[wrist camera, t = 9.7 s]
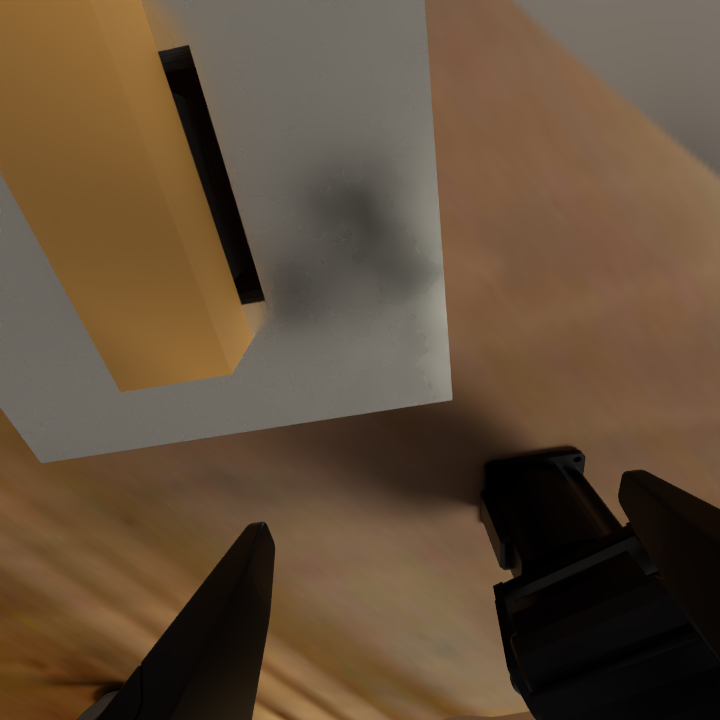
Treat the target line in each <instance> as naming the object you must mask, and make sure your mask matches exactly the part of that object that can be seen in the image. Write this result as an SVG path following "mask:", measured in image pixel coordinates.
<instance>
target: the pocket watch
mask: <svg viewBox="0 0 720 720" xmlns="http://www.w3.org/2000/svg"><path fill="white" fill-rule="evenodd" d="M117 693H118V691H113V692H110V693H108V694H106V695H104V696H103V697H102V698H101V699H100V700H99V701H98V702H97V703H95V704H93V705H92V706H90V707H89V708H88V709H87V710H86V711H84V712H83V713H82V714H81V716H80V717H79V718H78V719H77V720H96V718H97V717H98V716H99V715H100V714H101V712H102V711H103V710H104V709H105V707H106V706H107V705H108V704H109V702H110V701H111V700H112V699H113V697H114V696H115V695H116V694H117Z"/></svg>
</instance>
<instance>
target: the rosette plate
mask: <svg viewBox="0 0 720 720" xmlns="http://www.w3.org/2000/svg"><path fill="white" fill-rule="evenodd" d="M141 3H142V6H143V9H144V12H145V15H146V18H147V21H148V24H149V27H150V30H151V33H152V36H153V39H154V42H155V45H156V48H157V51H158V54H159V57H160V60H161V63H162V66H163V69H164V72H165V73H166V72H171V71H175V70H180V69H184V68H189V67H194V66H195V67H196V70H197V74H198V77H199V80H200V84H201V87H202V90H203V94H204V97H205V100H206V104H207V107H208V110H209V114H210V117H211V120H212V124H213V127H214V130H215V134H216V137H217V140H218V144H219V147H220V150H221V154H222V157H223V160H224V164H225V167H226V170H227V174H228V177H229V180H230V184H231V187H232V190H233V194H234V197H235V200H236V204H237V207H238V210H239V214H240V217H241V220H242V224H243V227H244V231H245V234H246V237H247V241H248V244H249V247H250V251H251V254H252V257H253V261H254V264H255V267H256V271H257V274H258V277H259V281H260V284H261V287H262V289H260V290H255V291H249V292H243V293H238V296H239V299H240V302H241V305H242V308H243V311H244V314H245V317H246V320H247V323H248V326H249V329H250V332H251V335H252V338H253V340H252V341H251V343H250V345H249V346H248V348H247V350H246V351H245V353H244V355H243V357H242V358H241V360H240V362H239V363H238V365H237V367H236V368H235V370H234V372H233V373H232V374H231V375H225V376H219V377H213V378H206V379H200V380H194V381H188V382H182V383H176V384H170V385H164V386H158V387H152V388H146V389H139V390H133V391H127V392H120V390H119V389H118V387H117V385H116V383H115V381H114V379H113V378H112V376H111V374H110V372H109V370H108V368H107V367H106V365H105V363H104V361H103V359H102V358H101V356H100V354H99V352H98V350H97V348H96V347H95V345H94V343H93V341H92V339H91V337H90V336H89V334H88V332H87V330H86V328H85V326H84V325H83V323H82V321H81V319H80V317H79V316H78V314H77V312H76V310H75V308H74V306H73V305H72V303H71V301H70V299H69V297H68V295H67V294H66V292H65V290H64V288H63V286H62V284H61V283H60V281H59V279H58V277H57V275H56V274H55V272H54V270H53V268H52V266H51V264H50V263H49V261H48V259H47V257H46V255H45V253H44V252H43V250H42V248H41V246H40V244H39V242H38V241H37V239H36V237H35V235H34V233H33V232H32V230H31V228H30V226H29V224H28V222H27V221H26V219H25V217H24V215H23V213H22V211H21V210H20V208H19V206H18V204H17V202H16V200H15V199H14V197H13V195H12V193H11V191H10V190H9V188H8V186H7V184H6V182H5V180H4V179H3V177H2V175H1V173H0V408H1V409H2V411H3V412H4V413H5V415H6V416H7V417H8V419H9V420H10V422H11V423H12V424H13V426H14V427H15V428H16V430H17V431H18V432H19V434H20V435H21V436H22V438H23V439H24V441H25V442H26V443H27V445H28V446H29V447H30V449H31V450H32V451H33V453H34V454H35V455H36V457H37V458H38V460H39V461H40V462H41V463H47V462H54V461H60V460H67V459H73V458H80V457H86V456H93V455H99V454H106V453H112V452H119V451H125V450H132V449H138V448H145V447H151V446H158V445H164V444H171V443H177V442H184V441H190V440H197V439H203V438H209V437H216V436H222V435H229V434H235V433H242V432H248V431H255V430H261V429H268V428H274V427H281V426H287V425H294V424H300V423H307V422H313V421H320V420H326V419H333V418H339V417H346V416H352V415H359V414H365V413H372V412H378V411H385V410H391V409H397V408H404V407H410V406H417V405H423V404H430V403H436V402H443V401H449V400H453V399H452V385H451V371H450V357H449V342H448V328H447V314H446V300H445V286H444V271H443V257H442V243H441V229H440V215H439V200H438V186H437V172H436V158H435V144H434V129H433V115H432V101H431V87H430V73H429V58H428V44H427V30H426V16H425V2H424V0H141Z"/></svg>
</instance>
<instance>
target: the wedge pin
mask: <svg viewBox="0 0 720 720" xmlns="http://www.w3.org/2000/svg"><path fill="white" fill-rule="evenodd" d="M0 173H1V175H2V177H3V179H4V180H5V182H6V184H7V186H8V188H9V190H10V191H11V193H12V195H13V197H14V199H15V200H16V202H17V204H18V206H19V208H20V210H21V211H22V213H23V215H24V217H25V219H26V221H27V222H28V224H29V226H30V228H31V230H32V232H33V233H34V235H35V237H36V239H37V241H38V242H39V244H40V246H41V248H42V250H43V252H44V253H45V255H46V257H47V259H48V261H49V263H50V264H51V266H52V268H53V270H54V272H55V274H56V275H57V277H58V279H59V281H60V283H61V284H62V286H63V288H64V290H65V292H66V294H67V295H68V297H69V299H70V301H71V303H72V305H73V306H74V308H75V310H76V312H77V314H78V316H79V317H80V319H81V321H82V323H83V325H84V326H85V328H86V330H87V332H88V334H89V336H90V337H91V339H92V341H93V343H94V345H95V347H96V348H97V350H98V352H99V354H100V356H101V358H102V359H103V361H104V363H105V365H106V367H107V368H108V370H109V372H110V374H111V376H112V378H113V379H114V381H115V383H116V385H117V387H118V389H119V390H120V392H127V391H133V390H139V389H146V388H152V387H158V386H164V385H170V384H176V383H182V382H188V381H194V380H200V379H206V378H213V377H219V376H225V375H231V374H232V373H233V372H234V370H235V368H236V367H237V365H238V363H239V362H240V360H241V358H242V357H243V355H244V353H245V351H246V350H247V348H248V346H249V345H250V343H251V341H252V340H253V338H252V335H251V332H250V329H249V326H248V323H247V320H246V317H245V314H244V311H243V308H242V305H241V302H240V299H239V296H238V293H237V290H236V286H235V283H234V279H235V278H236V277H237V276H238V275H239V274H240V273H242V272H243V271H244V270H245V269H246V268H247V267H248V266H249V265H250V264H251V263H253V262H254V261H253V257H252V254H251V251H250V247H249V244H248V241H247V237H246V234H245V231H244V227H243V224H242V220H241V217H240V214H239V210H238V207H237V204H236V200H235V197H234V194H233V190H232V187H231V184H230V180H229V177H228V174H227V170H226V167H225V164H224V160H223V157H222V154H221V150H220V147H219V144H218V140H217V137H216V134H215V130H214V127H213V124H212V120H211V117H210V114H209V110H208V108H207V107H205V106H202V105H200V104H198V103H196V102H194V101H191V100H189V99H187V98H185V97H182V96H180V95H178V94H176V93H173V92H171V90H170V87H169V84H168V81H167V78H166V75H165V72H164V69H163V66H162V63H161V60H160V57H159V54H158V51H157V48H156V45H155V42H154V39H153V36H152V33H151V30H150V27H149V24H148V21H147V18H146V15H145V12H144V9H143V6H142V3H141V0H0Z"/></svg>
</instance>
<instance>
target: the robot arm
mask: <svg viewBox="0 0 720 720" xmlns="http://www.w3.org/2000/svg"><path fill="white" fill-rule="evenodd" d="M575 457H576V458H575ZM584 465H585V456H584V454H583V453H582V452H581V451H580V450H569V451H562V452H555V453H548V454H541V455H534V456H527V457H520V458H513V459H506V460H499V461H492V462H488V463H487V464H486V465H485V466H484V487H485V489H484V490H482V491H481V493H480V499H481V518H482V520H483V523H484V526H485V528H486V531H487V534H488V536H489V539H490V542H491V544H492V547H493V550H494V552H495V555H496V558H497V560H498V563H499V566H500V567H501V568H502V569H504V570H511V572H512V575H513V577H514V578H513V579H511V580H509V581H507V582H505V583H502V582H500V583H498V584H496V585H494V586H493V588H494V594H495V599H496V600H495V604H496V610H497V615H498V621H499V626H500V631H501V637H502V642H503V647H504V653H505V658H506V664H507V668H508V671H509V673H510V681H511V684H512V686H513V688H514V690H515V691H516V692H517V693H519V694H520V695H521V696H522V698H523V699H524V701H525V703H526V705H527V707H528V708H529V710H530V712H531V713H532V715H533V716H534V718H535V719H536V720H720V509H719V508H717V507H715V506H713V505H711V504H709V503H707V502H705V501H703V500H701V499H699V498H697V497H695V496H693V495H692V494H690V493H688V492H686V491H684V490H682V489H680V488H678V487H676V486H674V485H672V484H670V483H668V482H666V481H664V480H662V479H660V478H659V477H657V476H655V475H653V474H651V473H649V472H647V471H644V470H632V471H626V472H624V473H623V474H622V478H621V483H620V488H619V493H618V499H619V502H620V505H621V507H622V509H623V510H624V512H625V514H626V516H627V517H628V519H629V521H630V522H628V523H626V526H624V527H622V525H621V524H620V523H619V521H618V520H617V519H616V518H615V516H614V515H613V514H612V512H611V511H610V510H609V508H608V507H607V506H606V504H605V503H604V502H603V500H602V499H601V498H600V497H599V495H598V494H597V493H596V491H595V490H594V489H593V487H592V486H591V485H590V483H589V482H588V481H587V480H586V478H585V477H584V476H583V472H584ZM491 469H493V470H491ZM274 559H275V544H274V541H273V538H272V536H271V533H270V531H269V529H268V526H267V524H266V523H265V522H257V523H251V524H249V525H248V526H247V527H246V528H245V529H244V531H243V532H242V533H241V535H240V536H239V537H238V538H237V540H236V541H235V542H234V544H233V545H232V546H231V547H230V549H229V550H228V551H227V553H226V554H225V555H224V557H223V558H222V559H221V560H220V562H219V563H218V564H217V566H216V567H215V568H214V569H213V571H212V572H211V573H210V575H209V576H208V577H207V578H206V580H205V581H204V582H203V584H202V585H201V586H200V587H199V589H198V590H197V591H196V593H195V594H194V595H193V596H192V598H191V599H190V600H189V602H188V603H187V604H186V605H185V607H184V608H183V609H182V611H181V612H180V613H179V614H178V616H177V617H176V618H175V620H174V621H173V622H172V623H171V625H170V626H169V627H168V629H167V630H166V631H165V632H164V634H163V635H162V636H161V638H160V639H159V640H158V641H157V643H156V644H155V645H154V647H153V648H152V649H151V650H150V652H149V653H148V654H147V656H146V657H145V658H144V660H143V661H142V663H141V666H138V667H137V668H136V670H135V671H134V672H133V673H132V675H131V676H130V677H129V679H128V680H127V681H126V682H125V684H124V685H123V686H122V688H121V689H120V690H119V691H118V693H117V694H116V695H115V696H114V697H113V699H112V700H111V701H110V702H109V704H108V705H107V706H106V707H105V709H104V710H103V711H102V712H101V714H100V715H99V716H98V717H97V718H96V720H252V715H253V710H254V704H255V698H256V693H257V687H258V681H259V676H260V670H261V665H262V659H263V653H264V648H265V642H266V636H267V631H268V625H269V618H270V610H271V598H272V585H273V572H274Z"/></svg>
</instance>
